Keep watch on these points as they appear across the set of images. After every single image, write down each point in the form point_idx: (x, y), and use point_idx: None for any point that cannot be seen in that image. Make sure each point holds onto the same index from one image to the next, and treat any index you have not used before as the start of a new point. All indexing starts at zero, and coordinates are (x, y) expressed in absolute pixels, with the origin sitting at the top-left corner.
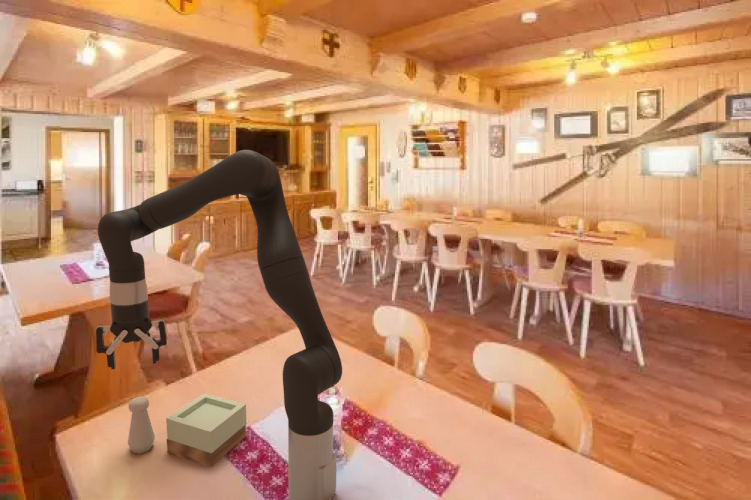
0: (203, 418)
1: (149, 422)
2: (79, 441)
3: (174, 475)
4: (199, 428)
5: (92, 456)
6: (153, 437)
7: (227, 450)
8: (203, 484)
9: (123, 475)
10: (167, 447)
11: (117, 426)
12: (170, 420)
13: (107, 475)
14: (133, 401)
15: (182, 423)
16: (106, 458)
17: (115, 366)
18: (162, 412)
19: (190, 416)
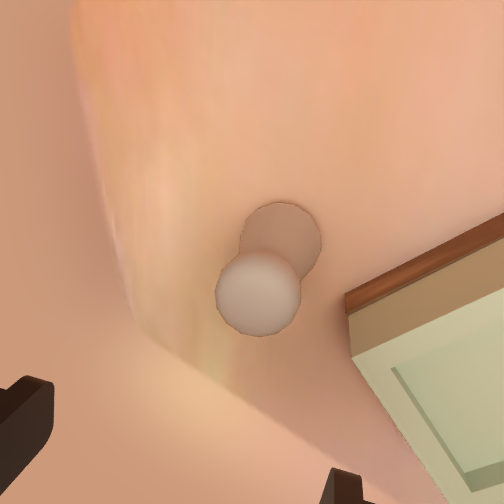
0: (485, 388)
1: (302, 275)
2: (121, 84)
3: (333, 395)
4: (434, 482)
5: (157, 194)
6: (314, 263)
7: None
8: (383, 462)
9: (225, 324)
10: (346, 301)
11: (231, 45)
12: (362, 373)
13: (191, 302)
14: (231, 306)
15: (393, 421)
16: (191, 226)
17: (51, 395)
18: (401, 19)
19: (447, 346)
